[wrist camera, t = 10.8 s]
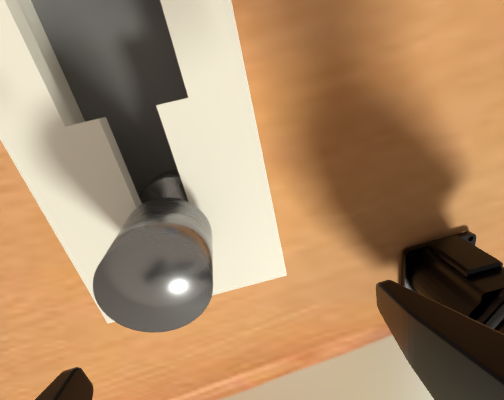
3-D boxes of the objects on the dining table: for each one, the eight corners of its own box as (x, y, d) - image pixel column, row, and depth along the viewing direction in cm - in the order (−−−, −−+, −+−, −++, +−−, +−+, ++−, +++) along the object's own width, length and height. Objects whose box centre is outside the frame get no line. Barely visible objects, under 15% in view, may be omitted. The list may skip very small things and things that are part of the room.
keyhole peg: (218, 223, 20) (225, 315, 12) (157, 238, 20) (120, 344, 12) (201, 163, 19) (194, 225, 10) (133, 180, 18) (70, 257, 10)
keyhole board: (274, 243, 22) (286, 275, 18) (125, 283, 22) (107, 323, 18) (204, -83, 14) (202, -142, 10) (-36, -33, 14) (-126, -78, 10)
